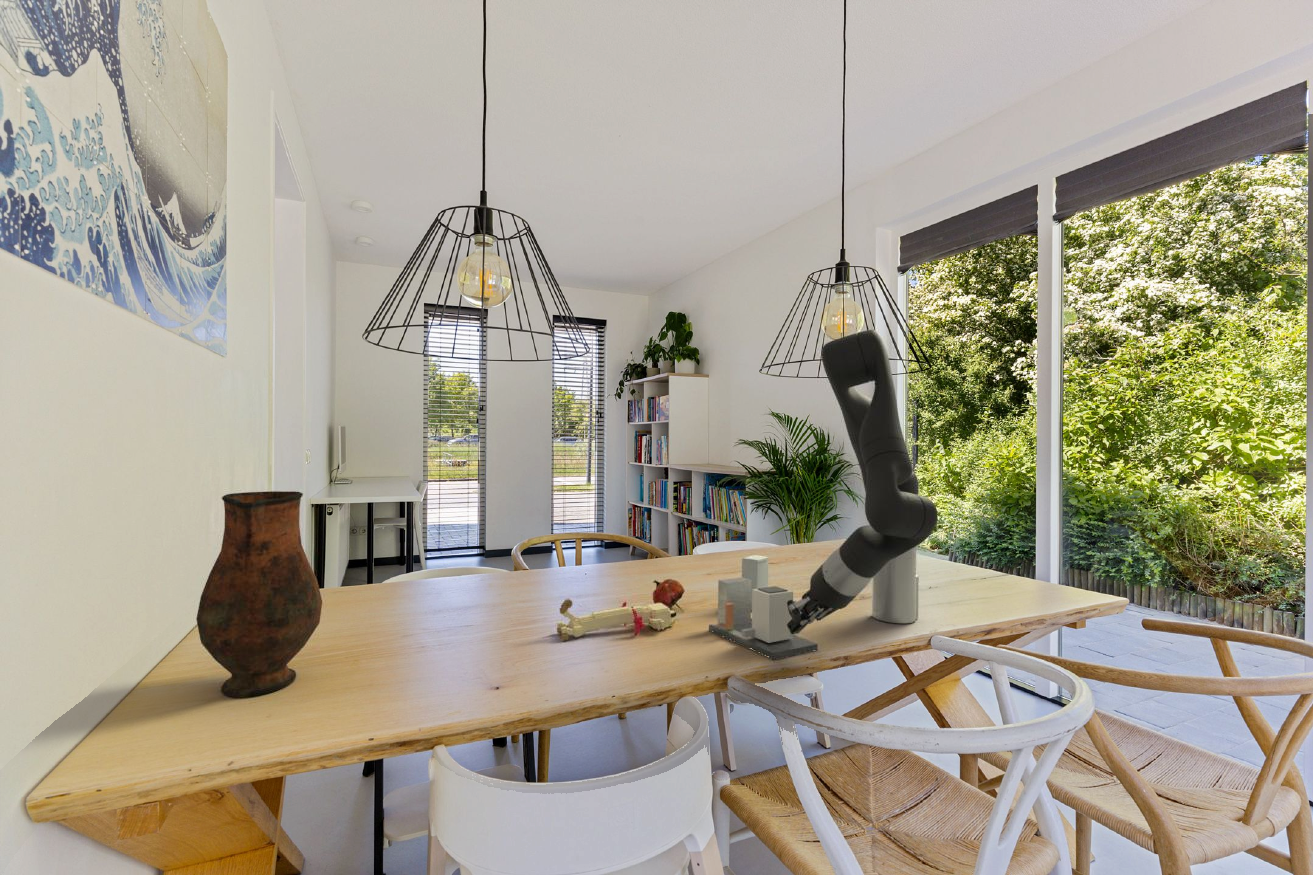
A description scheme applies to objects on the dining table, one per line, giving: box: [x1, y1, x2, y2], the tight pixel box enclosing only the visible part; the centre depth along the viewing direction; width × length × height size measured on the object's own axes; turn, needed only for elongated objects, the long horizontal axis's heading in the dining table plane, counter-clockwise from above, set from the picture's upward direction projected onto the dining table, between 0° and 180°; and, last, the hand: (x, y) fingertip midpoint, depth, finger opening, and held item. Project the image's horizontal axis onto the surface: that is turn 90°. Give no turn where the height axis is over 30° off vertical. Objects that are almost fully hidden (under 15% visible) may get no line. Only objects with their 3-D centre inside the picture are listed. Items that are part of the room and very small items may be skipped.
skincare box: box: [741, 554, 770, 611], centre depth 149 cm, size 6×4×12 cm
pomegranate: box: [652, 578, 685, 613], centre depth 146 cm, size 7×7×10 cm
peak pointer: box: [725, 603, 734, 630], centre depth 126 cm, size 1×1×5 cm, turn 121°
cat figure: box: [556, 598, 679, 642], centre depth 129 cm, size 10×9×25 cm
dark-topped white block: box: [742, 585, 794, 643], centre depth 121 cm, size 8×5×9 cm, turn 121°
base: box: [708, 576, 819, 660], centre depth 124 cm, size 11×20×10 cm, turn 31°
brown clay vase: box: [196, 490, 323, 699], centre depth 101 cm, size 17×21×30 cm
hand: (792, 629), depth 117 cm, fingers closed
